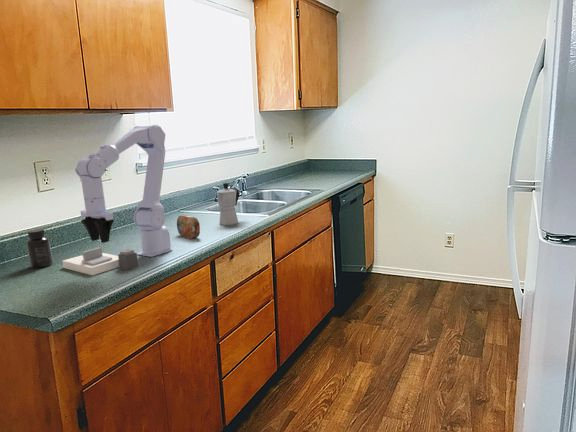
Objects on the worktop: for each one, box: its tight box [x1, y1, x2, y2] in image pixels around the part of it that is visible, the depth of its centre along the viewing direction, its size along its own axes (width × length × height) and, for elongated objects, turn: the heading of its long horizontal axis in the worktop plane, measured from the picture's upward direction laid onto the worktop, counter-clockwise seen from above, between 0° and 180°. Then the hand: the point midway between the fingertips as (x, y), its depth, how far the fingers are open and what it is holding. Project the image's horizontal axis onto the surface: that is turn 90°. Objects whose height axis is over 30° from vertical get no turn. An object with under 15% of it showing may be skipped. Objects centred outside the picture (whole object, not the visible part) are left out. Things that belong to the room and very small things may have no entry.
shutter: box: [81, 247, 112, 265], centre depth 147 cm, size 7×7×3 cm
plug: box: [117, 248, 139, 271], centre depth 147 cm, size 4×4×6 cm
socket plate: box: [62, 252, 120, 276], centre depth 150 cm, size 12×17×3 cm
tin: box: [176, 215, 201, 240], centre depth 184 cm, size 15×3×8 cm, turn 40°
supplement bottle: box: [25, 228, 54, 269], centre depth 154 cm, size 7×7×12 cm
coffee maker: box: [215, 182, 240, 227], centre depth 204 cm, size 15×9×18 cm, turn 148°
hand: (100, 241), depth 144 cm, fingers open, 5 cm apart
